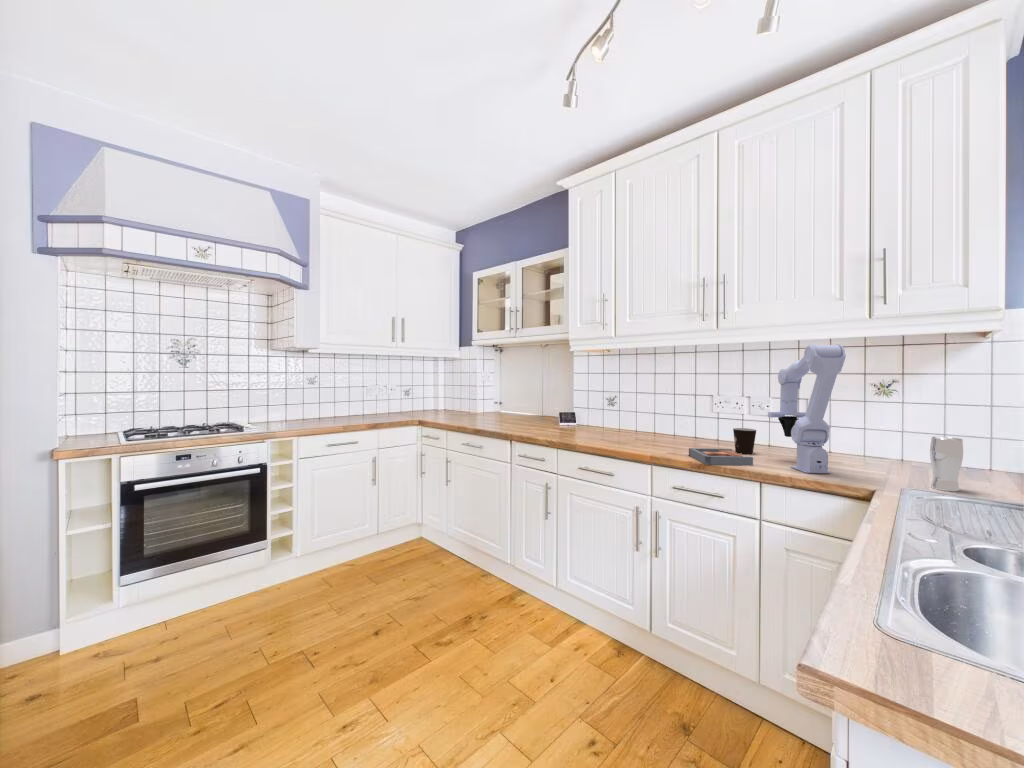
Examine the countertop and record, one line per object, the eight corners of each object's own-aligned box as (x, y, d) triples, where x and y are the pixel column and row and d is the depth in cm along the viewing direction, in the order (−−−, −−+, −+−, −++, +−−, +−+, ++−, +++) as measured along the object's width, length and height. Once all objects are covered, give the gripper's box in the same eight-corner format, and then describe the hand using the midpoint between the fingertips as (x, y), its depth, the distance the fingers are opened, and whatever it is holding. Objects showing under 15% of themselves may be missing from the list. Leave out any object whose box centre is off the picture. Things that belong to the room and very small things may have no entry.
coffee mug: (753, 455, 181) (754, 431, 180) (730, 453, 186) (731, 429, 186) (758, 451, 190) (759, 428, 190) (736, 449, 195) (736, 426, 195)
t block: (728, 457, 176) (728, 450, 176) (743, 464, 164) (743, 456, 164) (697, 457, 177) (697, 449, 176) (710, 463, 165) (710, 455, 164)
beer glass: (934, 485, 135) (936, 435, 135) (965, 490, 129) (967, 439, 129) (924, 487, 132) (926, 437, 132) (956, 493, 126) (958, 440, 126)
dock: (752, 465, 161) (753, 457, 161) (706, 464, 162) (706, 456, 162) (730, 456, 179) (730, 448, 179) (688, 455, 180) (688, 448, 180)
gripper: (801, 400, 174) (800, 435, 174) (764, 400, 174) (763, 434, 175) (813, 401, 167) (812, 437, 167) (774, 401, 167) (773, 437, 167)
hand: (787, 436), depth 170 cm, fingers closed
